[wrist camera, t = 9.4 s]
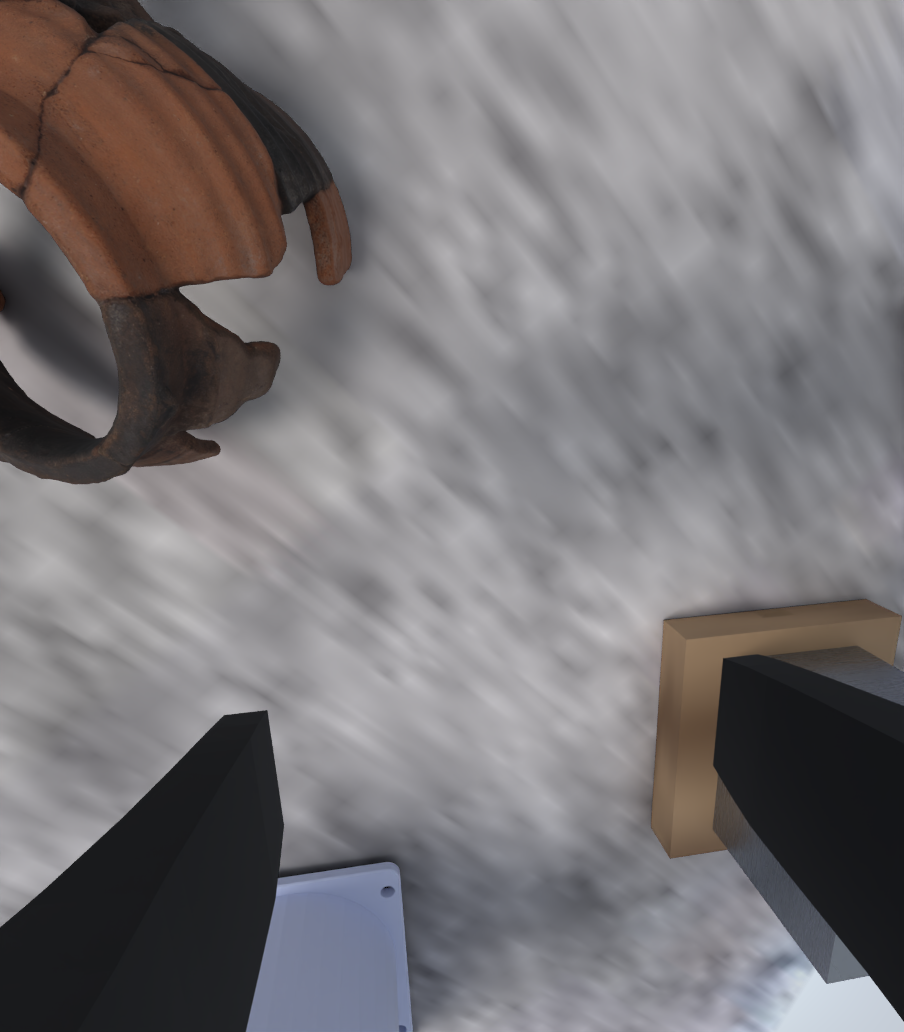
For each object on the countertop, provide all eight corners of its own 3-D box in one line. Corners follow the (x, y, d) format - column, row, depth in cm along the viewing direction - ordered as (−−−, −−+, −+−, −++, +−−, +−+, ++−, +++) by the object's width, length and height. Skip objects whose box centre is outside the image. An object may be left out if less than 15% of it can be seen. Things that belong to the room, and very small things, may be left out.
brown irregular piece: (413, 359, 17) (280, 510, 11) (173, 394, 20) (-42, 527, 14) (254, -241, 11) (-291, -734, 5) (-57, -55, 14) (-637, -191, 8)
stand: (833, 799, 24) (863, 827, 22) (651, 827, 23) (670, 858, 21) (865, 599, 21) (901, 615, 20) (663, 620, 20) (686, 639, 19)
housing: (829, 811, 22) (988, 965, 16) (712, 828, 21) (835, 995, 15) (857, 645, 20) (1047, 754, 14) (729, 659, 19) (875, 779, 14)
